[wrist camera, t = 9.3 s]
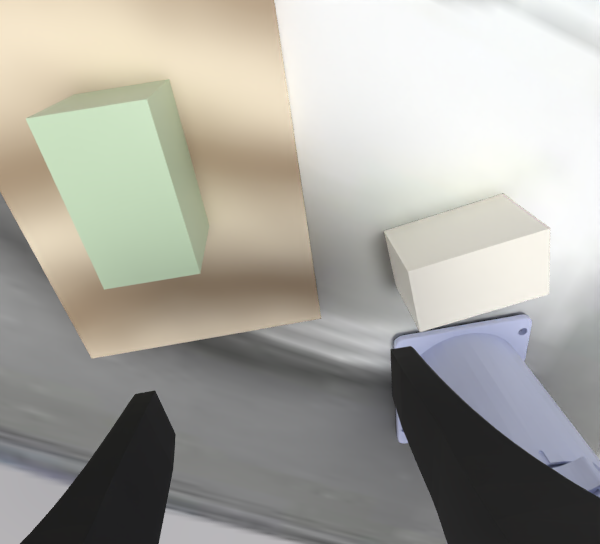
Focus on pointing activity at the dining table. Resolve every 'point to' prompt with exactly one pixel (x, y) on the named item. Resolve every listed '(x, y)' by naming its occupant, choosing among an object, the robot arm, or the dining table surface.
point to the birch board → (203, 151)
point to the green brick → (126, 181)
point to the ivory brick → (469, 261)
